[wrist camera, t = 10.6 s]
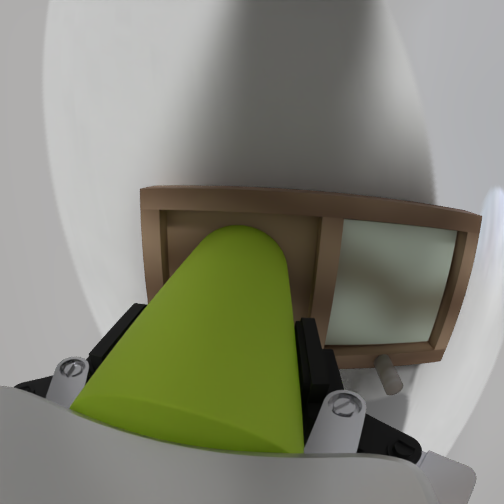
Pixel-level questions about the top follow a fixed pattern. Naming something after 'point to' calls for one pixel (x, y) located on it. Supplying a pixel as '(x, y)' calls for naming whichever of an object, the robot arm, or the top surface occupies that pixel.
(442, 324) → the wooden divided tray
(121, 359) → the soap dispenser
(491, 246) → the top surface
